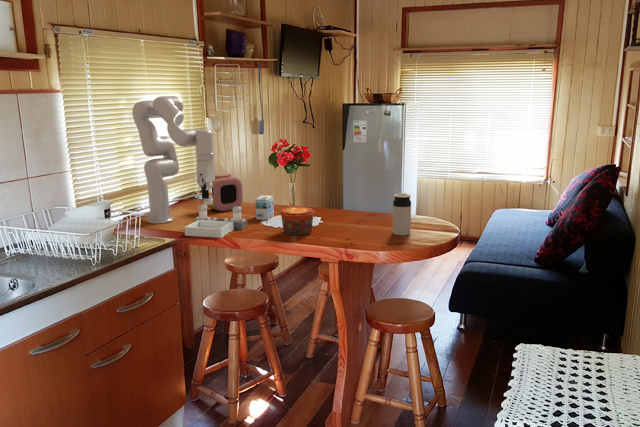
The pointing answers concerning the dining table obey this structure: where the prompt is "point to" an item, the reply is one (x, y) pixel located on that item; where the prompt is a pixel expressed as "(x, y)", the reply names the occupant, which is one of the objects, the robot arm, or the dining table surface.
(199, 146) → the robot arm
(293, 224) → the food container
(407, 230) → the travel mug
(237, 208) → the right fuse
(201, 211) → the left fuse
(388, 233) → the dining table surface
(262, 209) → the light bulb box
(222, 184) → the alarm clock
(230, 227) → the tray
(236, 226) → the fuse block
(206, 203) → the marked fuse
